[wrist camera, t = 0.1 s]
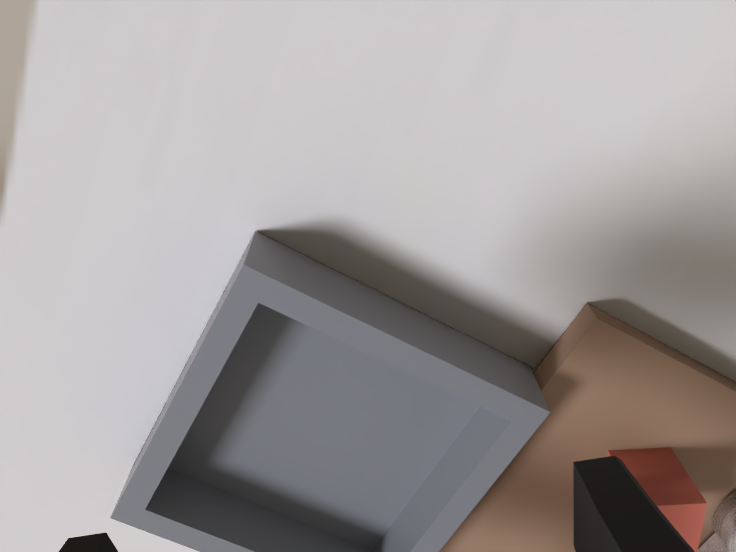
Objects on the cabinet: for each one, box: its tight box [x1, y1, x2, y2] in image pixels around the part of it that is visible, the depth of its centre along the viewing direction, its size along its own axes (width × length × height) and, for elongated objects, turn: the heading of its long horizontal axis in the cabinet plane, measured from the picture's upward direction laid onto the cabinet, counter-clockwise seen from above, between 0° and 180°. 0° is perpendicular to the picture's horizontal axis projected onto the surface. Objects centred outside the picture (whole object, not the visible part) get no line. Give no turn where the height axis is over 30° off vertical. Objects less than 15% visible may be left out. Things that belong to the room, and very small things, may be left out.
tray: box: [111, 231, 550, 552], centre depth 21 cm, size 10×10×2 cm
